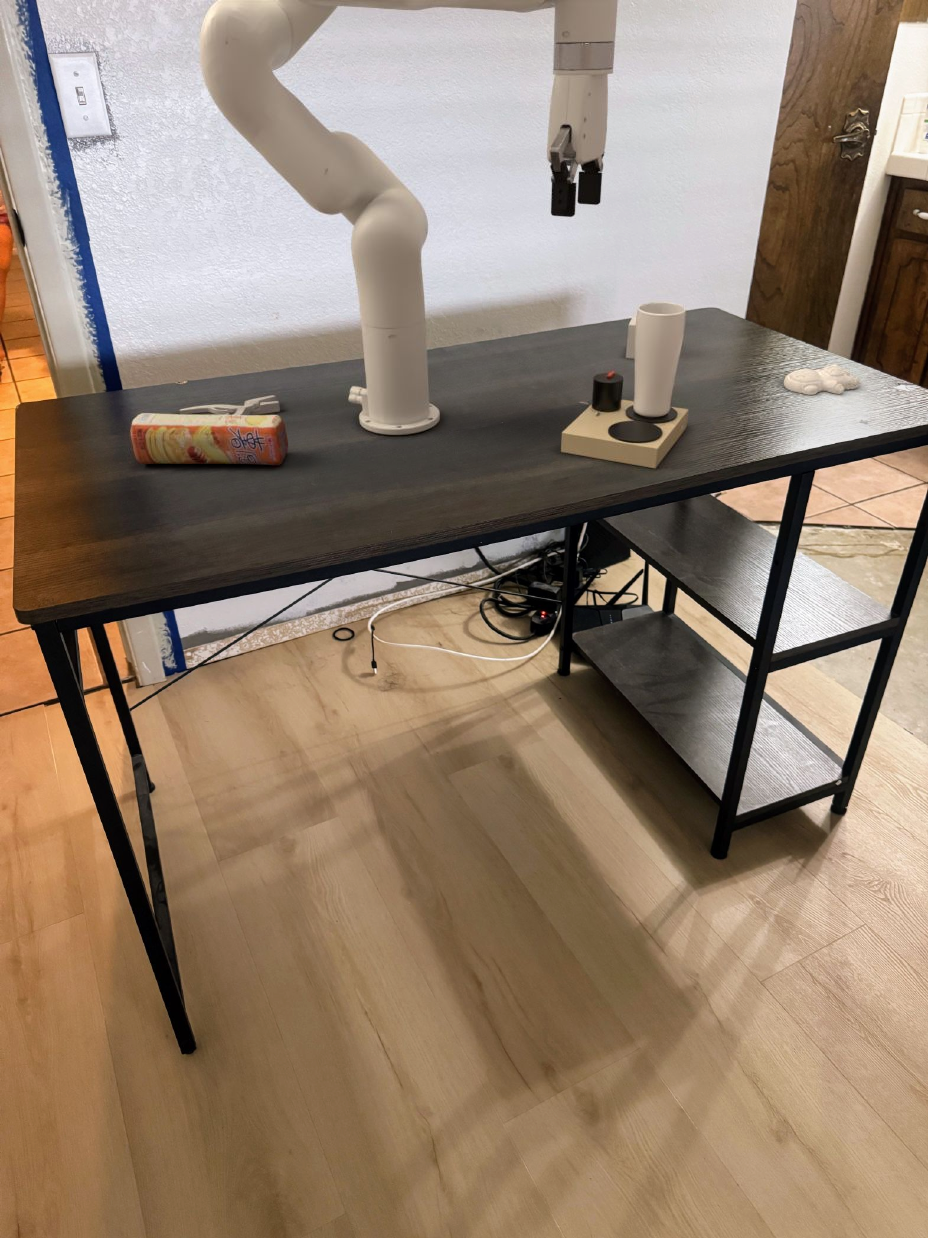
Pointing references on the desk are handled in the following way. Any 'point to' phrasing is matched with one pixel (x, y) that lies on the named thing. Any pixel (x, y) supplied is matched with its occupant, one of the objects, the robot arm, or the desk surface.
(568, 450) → the hot plate
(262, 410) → the pliers
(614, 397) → the hob knob
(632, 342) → the white cube
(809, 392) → the astronaut figurine
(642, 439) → the burner
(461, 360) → the desk surface
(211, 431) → the snack package
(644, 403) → the drinking glass
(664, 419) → the burner
